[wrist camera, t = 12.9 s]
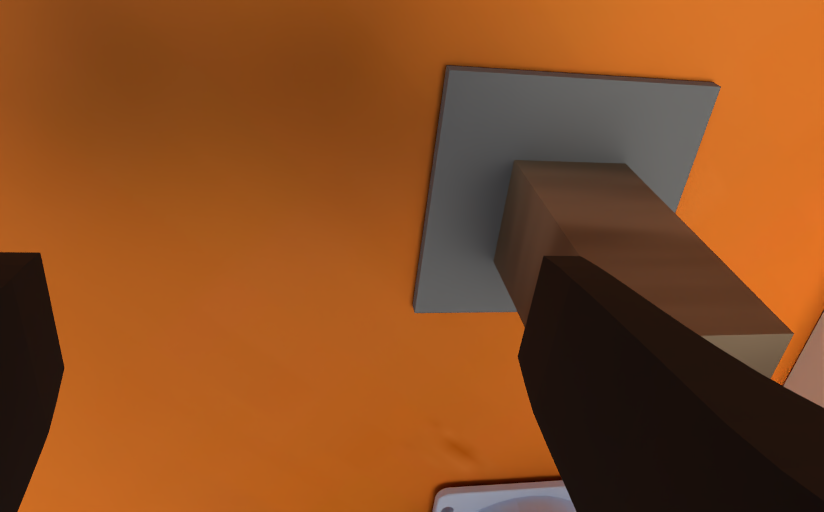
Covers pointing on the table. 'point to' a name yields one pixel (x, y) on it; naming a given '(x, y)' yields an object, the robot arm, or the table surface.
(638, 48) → the table surface
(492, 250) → the rubber pad
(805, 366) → the button base
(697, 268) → the walnut peg
